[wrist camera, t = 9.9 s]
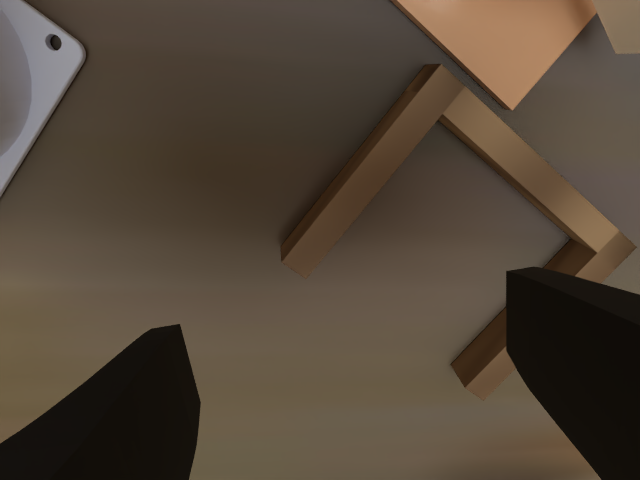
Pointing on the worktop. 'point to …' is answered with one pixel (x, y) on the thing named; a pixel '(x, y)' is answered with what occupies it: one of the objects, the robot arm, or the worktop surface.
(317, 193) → the worktop surface
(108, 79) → the worktop surface
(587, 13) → the plate
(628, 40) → the jug
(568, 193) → the holder
